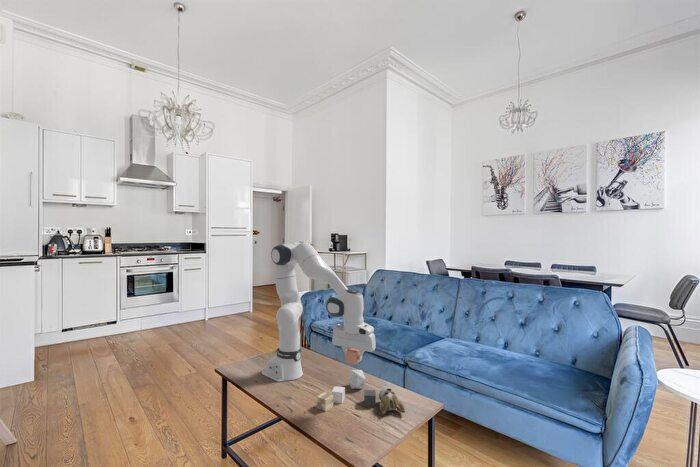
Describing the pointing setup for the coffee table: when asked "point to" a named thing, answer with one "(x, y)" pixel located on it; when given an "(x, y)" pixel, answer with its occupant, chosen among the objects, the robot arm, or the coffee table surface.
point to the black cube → (369, 398)
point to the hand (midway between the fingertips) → (353, 357)
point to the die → (356, 379)
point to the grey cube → (338, 394)
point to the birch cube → (325, 401)
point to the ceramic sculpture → (389, 401)
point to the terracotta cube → (352, 356)
